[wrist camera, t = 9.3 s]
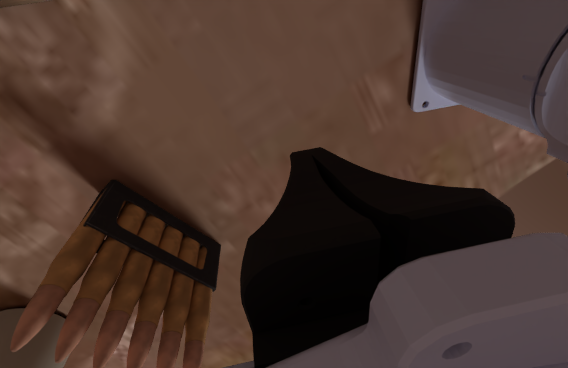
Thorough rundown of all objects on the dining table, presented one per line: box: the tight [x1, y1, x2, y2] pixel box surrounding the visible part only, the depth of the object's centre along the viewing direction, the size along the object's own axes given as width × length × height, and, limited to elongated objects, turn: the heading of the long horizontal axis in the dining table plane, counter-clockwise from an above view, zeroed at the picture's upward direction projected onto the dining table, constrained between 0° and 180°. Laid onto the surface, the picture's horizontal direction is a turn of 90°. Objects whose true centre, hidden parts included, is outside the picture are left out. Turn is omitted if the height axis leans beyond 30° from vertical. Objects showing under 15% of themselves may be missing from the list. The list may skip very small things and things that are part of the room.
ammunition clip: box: [10, 180, 221, 368], centre depth 18 cm, size 11×2×12 cm, turn 41°
